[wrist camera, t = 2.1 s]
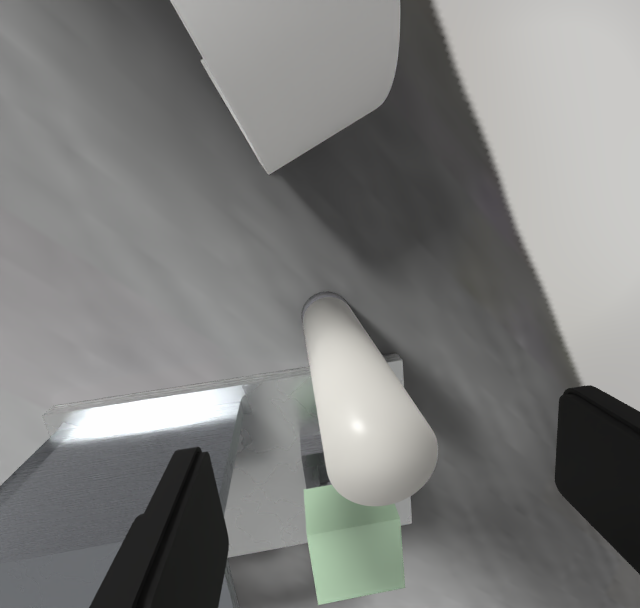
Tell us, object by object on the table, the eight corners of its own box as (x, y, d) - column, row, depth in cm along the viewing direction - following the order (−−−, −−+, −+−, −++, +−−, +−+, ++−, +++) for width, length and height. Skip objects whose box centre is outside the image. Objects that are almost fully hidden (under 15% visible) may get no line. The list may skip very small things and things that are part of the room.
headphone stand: (288, 13, 16) (300, -483, 5) (350, 138, 18) (474, 8, 6) (203, 67, 16) (9, -278, 5) (272, 186, 18) (253, 144, 6)
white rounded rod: (298, 295, 20) (319, 419, 8) (347, 288, 20) (436, 399, 8) (305, 341, 20) (332, 514, 9) (352, 334, 21) (439, 495, 9)
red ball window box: (53, 405, 20) (-128, 561, 11) (396, 353, 21) (477, 454, 12) (112, 565, 23) (8, 782, 14) (407, 511, 24) (475, 680, 16)
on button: (301, 467, 18) (306, 536, 15) (376, 454, 19) (400, 518, 15) (311, 526, 20) (318, 604, 16) (381, 514, 20) (405, 587, 16)
